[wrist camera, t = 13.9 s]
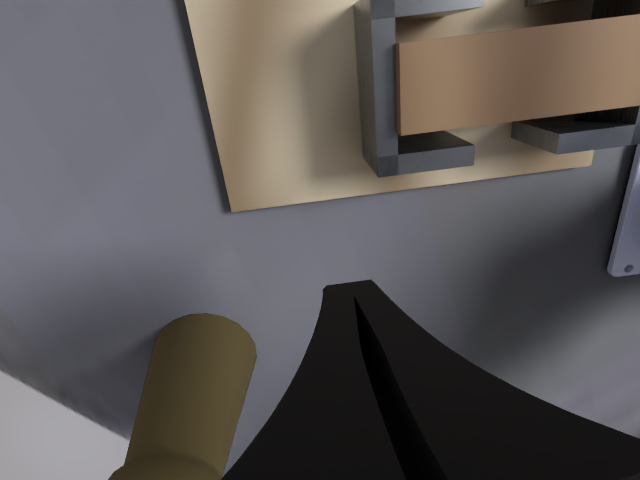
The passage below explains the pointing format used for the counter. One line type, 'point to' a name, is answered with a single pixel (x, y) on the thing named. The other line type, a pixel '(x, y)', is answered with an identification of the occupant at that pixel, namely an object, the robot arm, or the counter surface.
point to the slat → (517, 74)
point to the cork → (190, 400)
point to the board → (333, 98)
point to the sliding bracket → (381, 92)
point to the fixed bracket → (587, 126)
